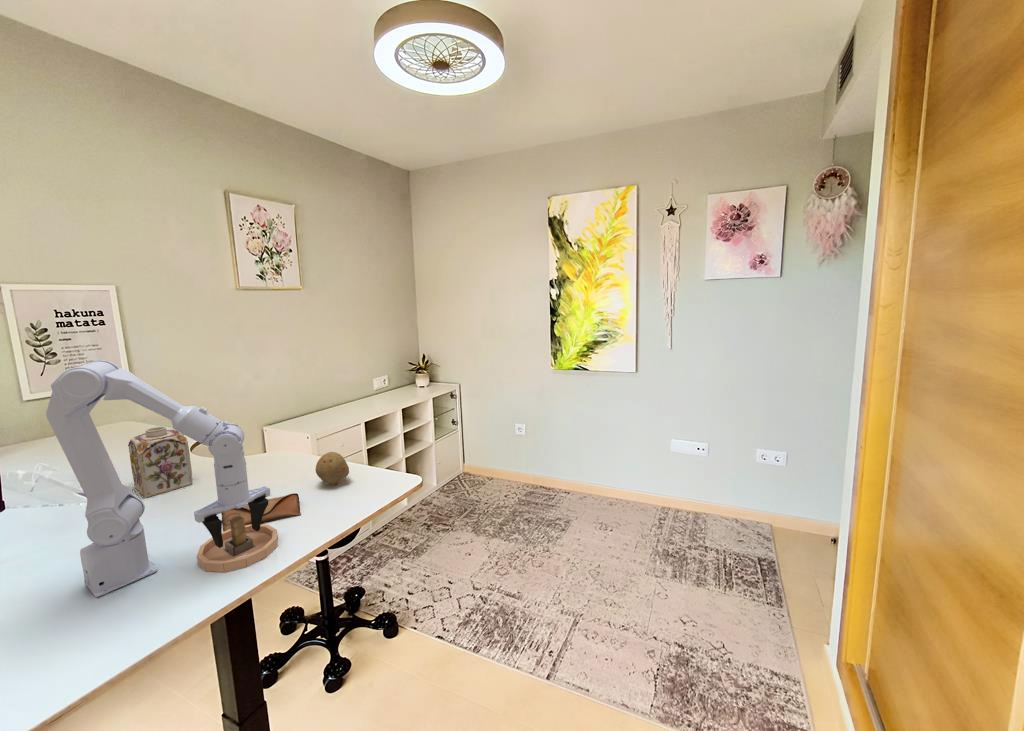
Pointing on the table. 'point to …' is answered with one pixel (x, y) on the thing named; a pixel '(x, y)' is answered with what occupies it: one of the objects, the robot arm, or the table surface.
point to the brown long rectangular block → (238, 530)
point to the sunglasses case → (266, 511)
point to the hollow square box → (238, 547)
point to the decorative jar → (160, 461)
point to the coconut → (332, 468)
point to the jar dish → (221, 561)
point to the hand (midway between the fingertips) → (238, 537)
